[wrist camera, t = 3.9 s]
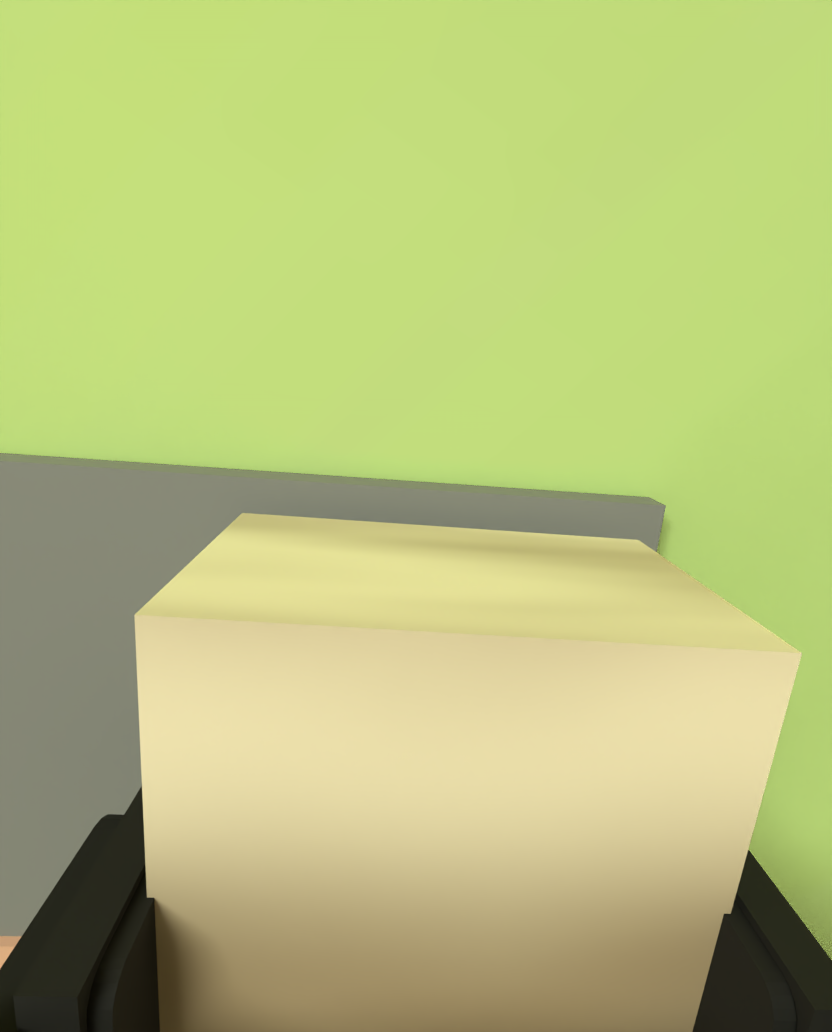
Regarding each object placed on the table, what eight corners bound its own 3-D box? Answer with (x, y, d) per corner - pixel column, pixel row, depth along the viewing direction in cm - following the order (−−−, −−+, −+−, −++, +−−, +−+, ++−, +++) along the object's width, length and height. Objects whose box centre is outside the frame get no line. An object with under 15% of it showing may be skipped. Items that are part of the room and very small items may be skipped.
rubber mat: (519, 1188, 14) (526, 1235, 14) (-154, 1201, 13) (-188, 1253, 12) (649, 497, 10) (672, 508, 9) (-357, 428, 9) (-429, 435, 8)
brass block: (555, 987, 11) (632, 1276, 7) (239, 980, 11) (164, 1279, 7) (638, 539, 9) (802, 652, 5) (242, 512, 8) (134, 614, 5)
